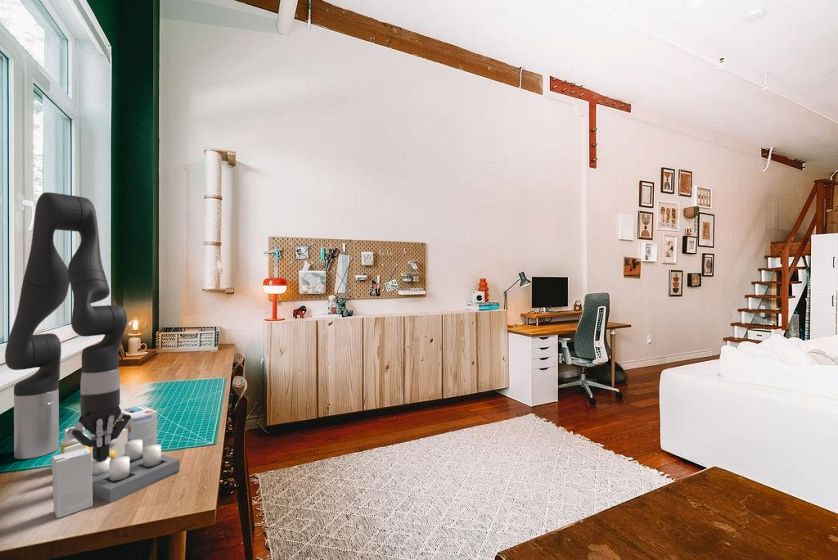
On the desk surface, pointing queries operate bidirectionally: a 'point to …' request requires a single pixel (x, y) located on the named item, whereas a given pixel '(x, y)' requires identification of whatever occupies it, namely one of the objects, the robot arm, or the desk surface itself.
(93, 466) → the button
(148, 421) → the light bulb box
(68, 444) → the supplement bottle
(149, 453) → the button
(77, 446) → the plaque
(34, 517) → the desk surface
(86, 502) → the skincare box
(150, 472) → the button board
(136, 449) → the button
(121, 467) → the button
